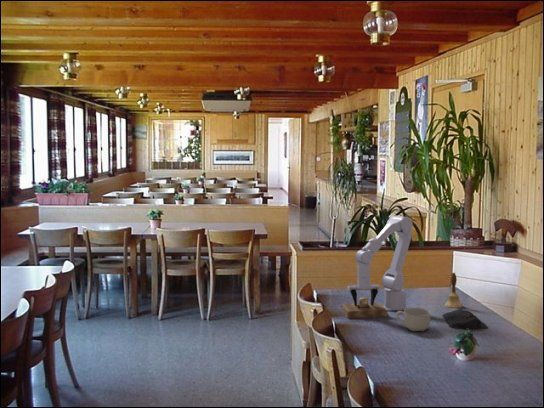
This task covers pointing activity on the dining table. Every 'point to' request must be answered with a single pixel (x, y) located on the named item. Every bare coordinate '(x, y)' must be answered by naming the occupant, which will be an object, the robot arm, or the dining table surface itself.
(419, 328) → the teacup
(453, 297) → the hand bell
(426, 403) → the dining table surface
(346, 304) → the board
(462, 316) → the dark slate chunk
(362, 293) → the dining table surface
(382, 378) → the dining table surface
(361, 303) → the peg
